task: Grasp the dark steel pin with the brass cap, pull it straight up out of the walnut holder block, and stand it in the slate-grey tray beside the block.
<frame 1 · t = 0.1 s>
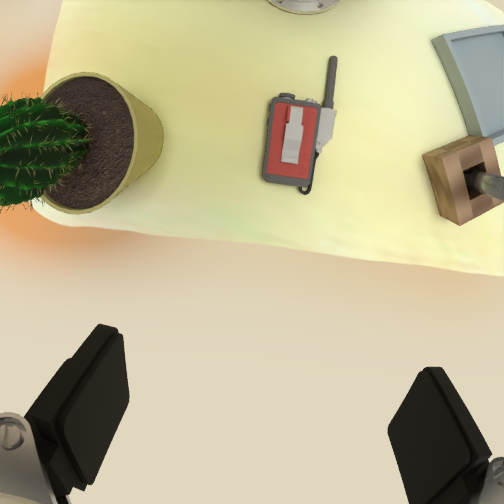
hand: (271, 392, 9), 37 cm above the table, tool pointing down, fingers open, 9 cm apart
tray: (490, 82, 35), on the table
pin: (459, 175, 40), point 1 cm above the table, touching holder block
potted cactus: (127, 139, 42), on the table
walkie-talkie: (300, 120, 41), on the table
holder block: (456, 174, 41), on the table
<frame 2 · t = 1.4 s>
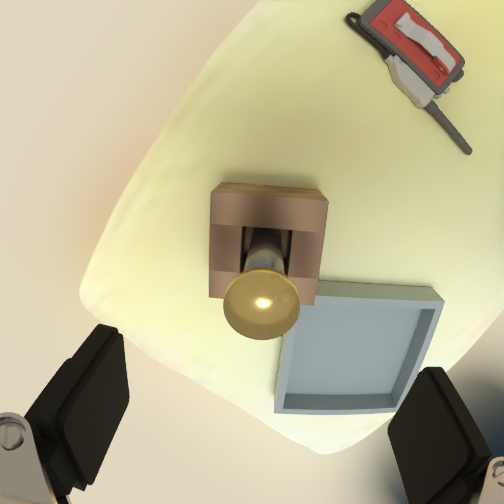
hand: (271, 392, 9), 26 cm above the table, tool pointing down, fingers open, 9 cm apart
tray: (351, 346, 39), on the table
pin: (266, 235, 33), point 1 cm above the table, touching holder block
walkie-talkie: (422, 70, 27), on the table
holder block: (266, 232, 34), on the table
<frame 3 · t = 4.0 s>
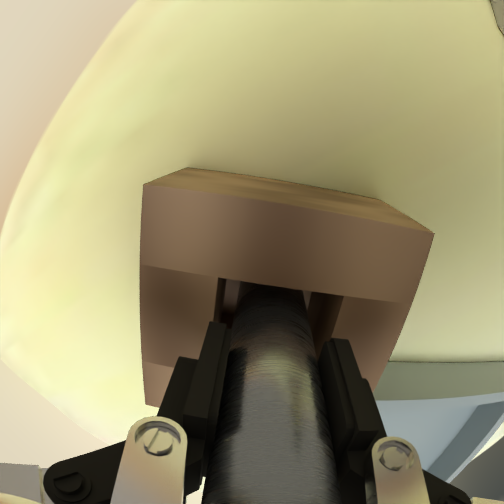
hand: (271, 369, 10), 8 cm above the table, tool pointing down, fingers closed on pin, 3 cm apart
tray: (379, 441, 22), on the table
pin: (270, 282, 16), point 1 cm above the table, touching gripper, holder block
holder block: (270, 274, 17), on the table
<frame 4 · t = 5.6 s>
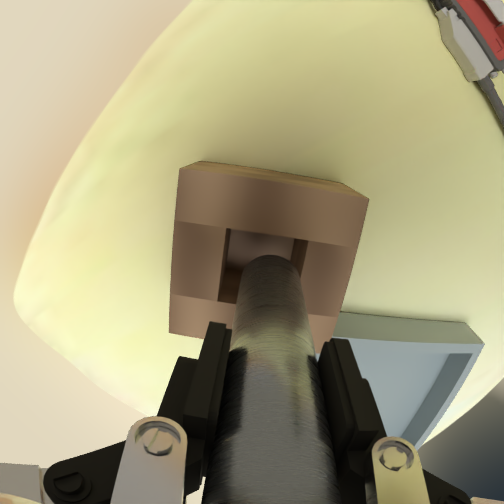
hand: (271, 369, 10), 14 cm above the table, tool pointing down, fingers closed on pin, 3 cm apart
tray: (358, 393, 28), on the table
pin: (270, 282, 16), point 7 cm above the table, touching gripper
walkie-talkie: (476, 42, 17), on the table
holder block: (261, 239, 23), on the table
when the fingers open (9 cm above the table, at t = 11.3 s): pin drops 2 cm, resting on tray.
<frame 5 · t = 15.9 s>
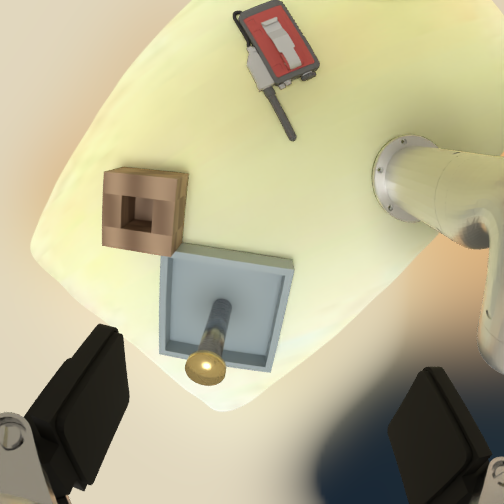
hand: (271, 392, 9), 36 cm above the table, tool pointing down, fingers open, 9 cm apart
tray: (222, 304, 49), on the table
pin: (222, 307, 48), point 1 cm above the table, touching tray
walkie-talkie: (281, 66, 38), on the table
holder block: (151, 204, 44), on the table
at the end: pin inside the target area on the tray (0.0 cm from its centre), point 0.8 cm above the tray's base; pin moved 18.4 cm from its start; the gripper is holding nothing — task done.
